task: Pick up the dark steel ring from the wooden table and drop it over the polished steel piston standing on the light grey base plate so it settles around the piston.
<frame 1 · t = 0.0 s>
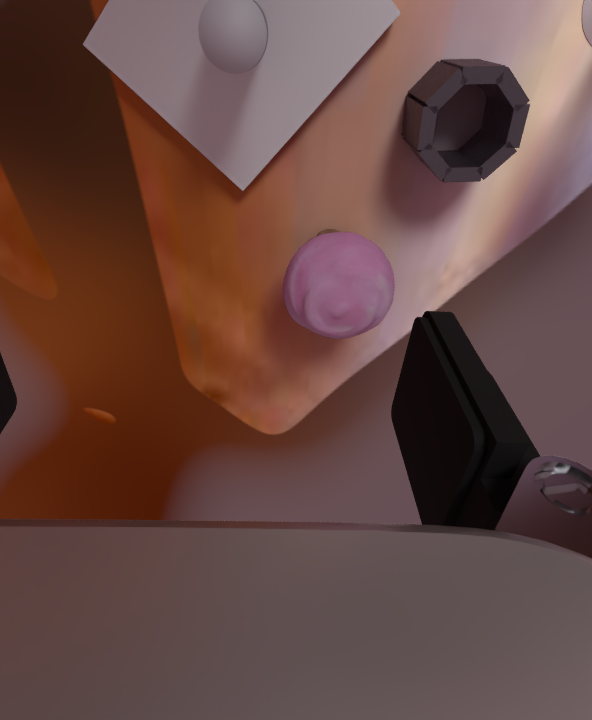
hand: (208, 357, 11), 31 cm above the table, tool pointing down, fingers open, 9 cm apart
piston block: (242, 28, 32), on the table
cupcake: (331, 253, 43), on the table
steel ring: (450, 114, 36), on the table
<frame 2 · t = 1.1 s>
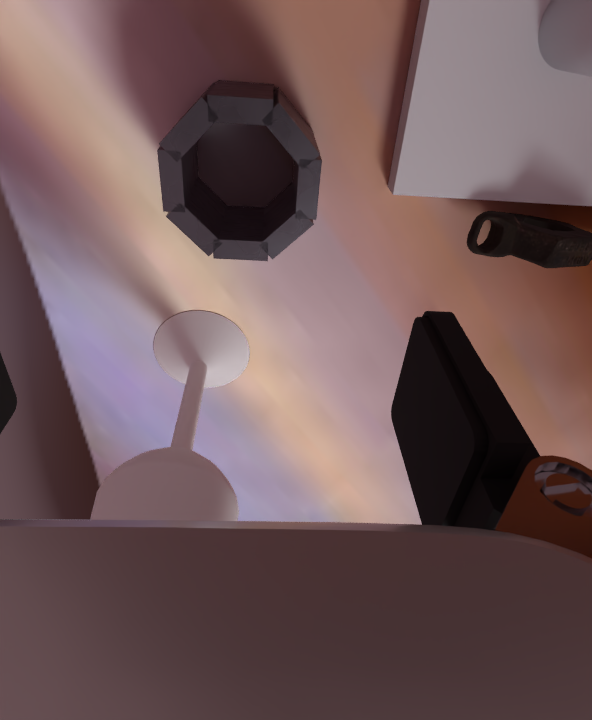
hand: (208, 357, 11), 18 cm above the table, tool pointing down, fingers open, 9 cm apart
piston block: (563, 23, 22), on the table
steel ring: (245, 158, 26), on the table
champagne flute: (202, 350, 33), on the table
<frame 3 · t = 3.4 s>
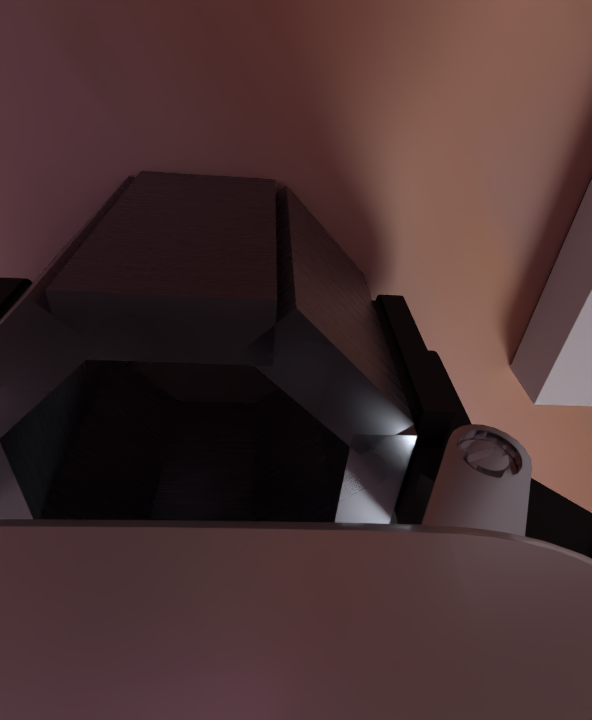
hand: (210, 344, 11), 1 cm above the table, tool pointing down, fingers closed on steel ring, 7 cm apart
steel ring: (214, 324, 12), on the table, touching gripper
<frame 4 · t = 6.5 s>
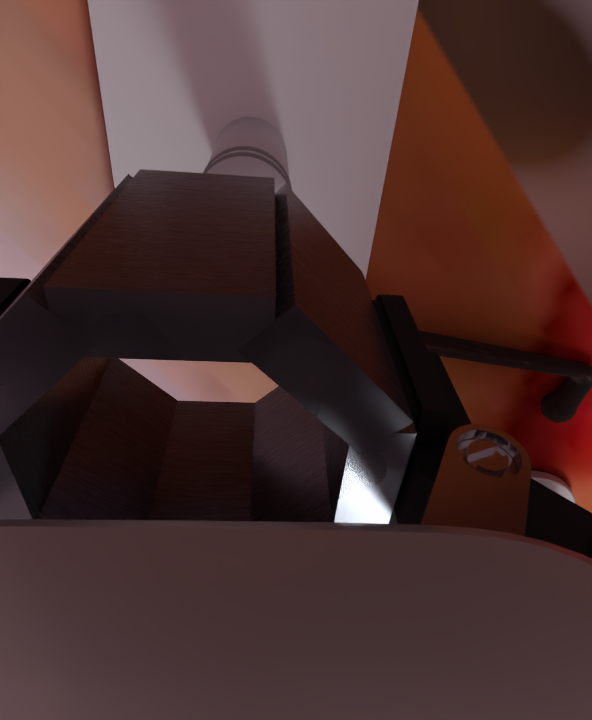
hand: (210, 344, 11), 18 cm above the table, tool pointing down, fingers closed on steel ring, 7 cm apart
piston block: (252, 149, 25), on the table
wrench: (397, 346, 34), on the table
steel ring: (213, 323, 12), point 17 cm above the table, touching gripper
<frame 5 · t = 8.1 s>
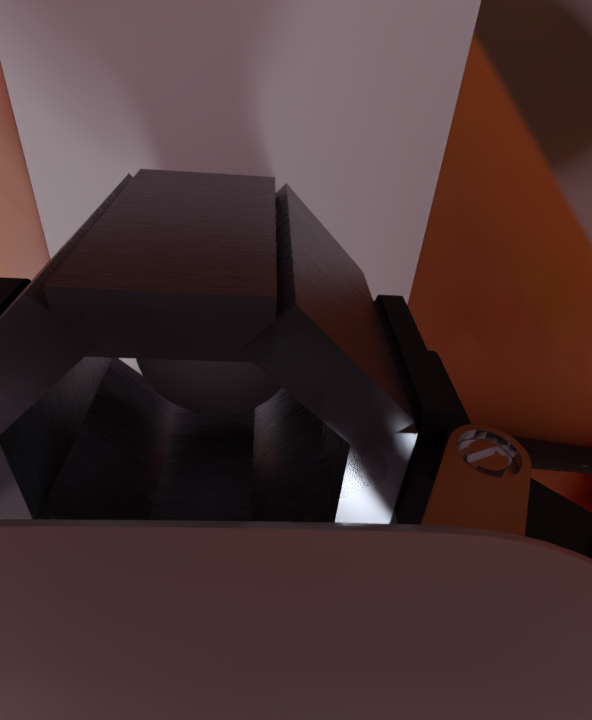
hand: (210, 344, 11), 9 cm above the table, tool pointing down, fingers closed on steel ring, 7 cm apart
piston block: (239, 215, 19), on the table
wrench: (420, 439, 27), on the table
steel ring: (214, 323, 12), point 8 cm above the table, touching gripper
when the fingers open (4 cm above the table, at t = 9.7 s): steel ring drops 2 cm, resting on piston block.
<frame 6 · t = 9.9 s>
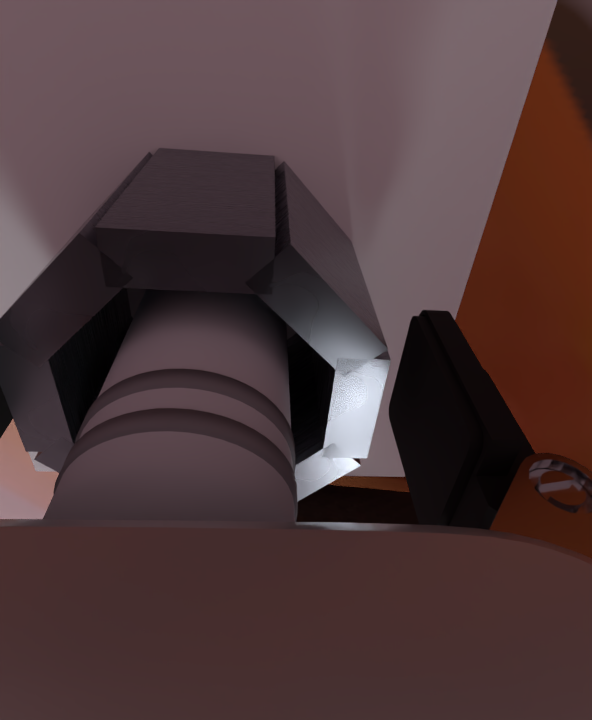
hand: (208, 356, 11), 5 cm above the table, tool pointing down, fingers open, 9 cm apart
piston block: (225, 264, 14), on the table
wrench: (433, 508, 23), on the table
steel ring: (220, 287, 13), point 1 cm above the table, touching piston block
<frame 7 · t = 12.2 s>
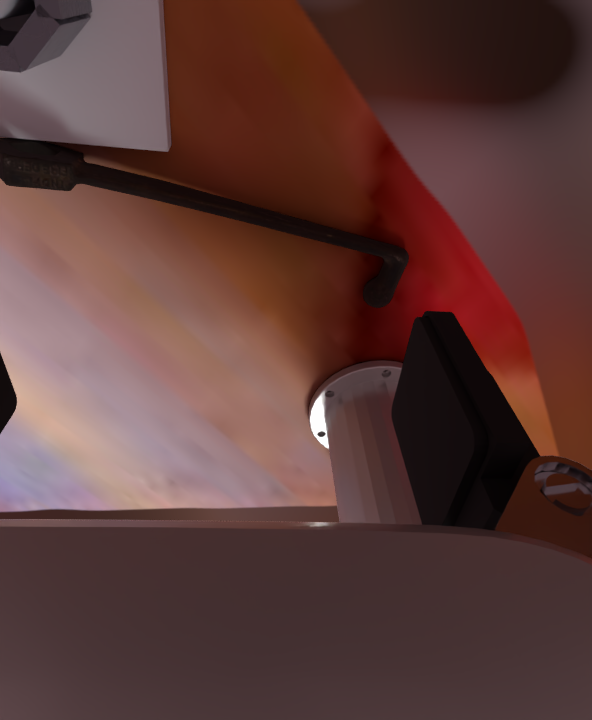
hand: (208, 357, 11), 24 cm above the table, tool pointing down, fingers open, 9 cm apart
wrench: (210, 218, 34), on the table, touching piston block
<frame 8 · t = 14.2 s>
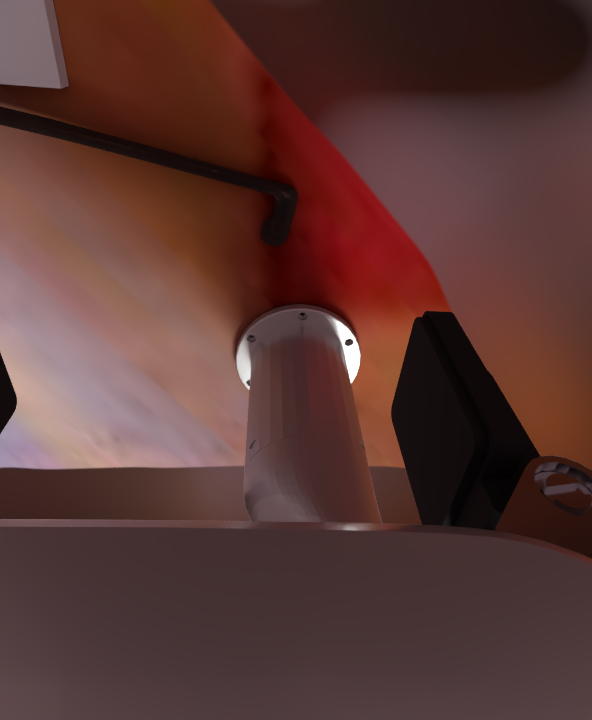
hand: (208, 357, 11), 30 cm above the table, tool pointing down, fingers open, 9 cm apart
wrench: (109, 161, 37), on the table, touching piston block
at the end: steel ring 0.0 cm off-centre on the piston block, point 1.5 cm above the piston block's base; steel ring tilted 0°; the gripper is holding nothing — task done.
